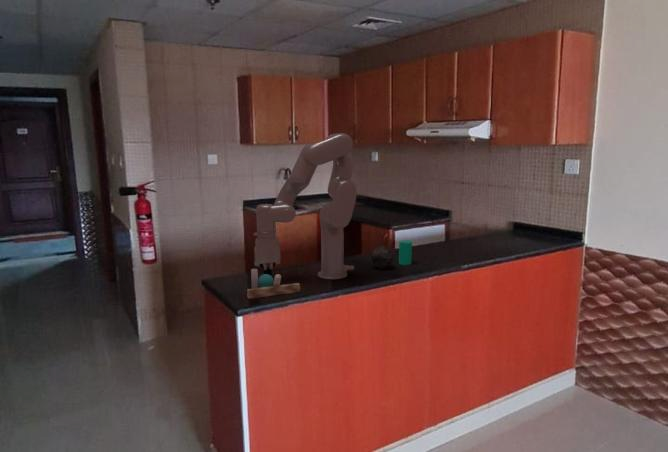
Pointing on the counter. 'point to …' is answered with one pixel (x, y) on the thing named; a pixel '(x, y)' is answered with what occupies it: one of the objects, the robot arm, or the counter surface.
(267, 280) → the ball
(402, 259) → the candle
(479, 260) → the counter surface
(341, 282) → the counter surface
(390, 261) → the decorative stone
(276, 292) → the oak rail
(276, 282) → the cream pin
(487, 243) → the counter surface
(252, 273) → the grey pin
